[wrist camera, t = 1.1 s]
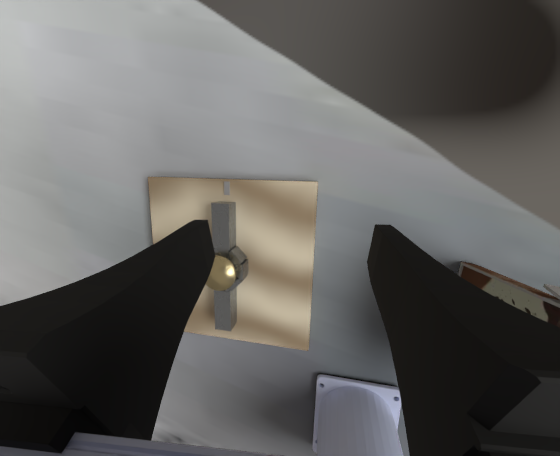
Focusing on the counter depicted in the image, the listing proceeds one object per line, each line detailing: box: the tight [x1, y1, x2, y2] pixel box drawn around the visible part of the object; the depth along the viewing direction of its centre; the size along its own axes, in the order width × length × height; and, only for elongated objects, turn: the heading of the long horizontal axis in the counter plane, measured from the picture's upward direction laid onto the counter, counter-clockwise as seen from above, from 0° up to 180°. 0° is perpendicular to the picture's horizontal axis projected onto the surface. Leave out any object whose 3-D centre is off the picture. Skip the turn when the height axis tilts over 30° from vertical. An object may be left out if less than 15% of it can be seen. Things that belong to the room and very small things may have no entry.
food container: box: [458, 262, 560, 327], centre depth 17 cm, size 12×6×10 cm, turn 175°
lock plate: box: [148, 177, 318, 351], centre depth 23 cm, size 16×16×3 cm
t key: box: [211, 201, 248, 331], centre depth 23 cm, size 12×4×2 cm, turn 178°
